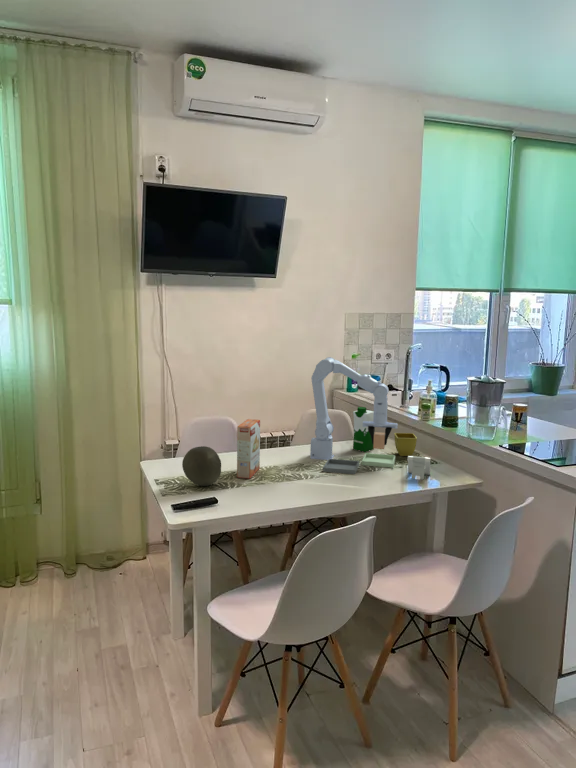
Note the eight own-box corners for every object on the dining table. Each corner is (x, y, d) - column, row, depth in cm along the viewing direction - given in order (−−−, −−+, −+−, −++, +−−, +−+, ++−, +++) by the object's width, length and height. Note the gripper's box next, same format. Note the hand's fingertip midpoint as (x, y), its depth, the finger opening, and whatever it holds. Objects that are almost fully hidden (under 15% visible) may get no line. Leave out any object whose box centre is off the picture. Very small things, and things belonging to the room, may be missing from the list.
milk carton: (350, 449, 267) (351, 407, 264) (361, 445, 273) (362, 404, 270) (365, 453, 261) (366, 409, 258) (377, 449, 268) (378, 407, 264)
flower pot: (416, 457, 254) (417, 438, 253) (396, 457, 254) (397, 437, 253) (412, 452, 263) (413, 433, 262) (393, 452, 263) (394, 432, 262)
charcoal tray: (322, 472, 232) (322, 467, 232) (328, 463, 245) (328, 458, 244) (354, 475, 229) (355, 470, 229) (359, 466, 242) (359, 461, 241)
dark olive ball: (201, 477, 226) (201, 440, 223) (229, 484, 218) (228, 446, 215) (175, 487, 214) (174, 448, 212) (203, 495, 206) (202, 454, 204)
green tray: (361, 466, 241) (361, 461, 241) (365, 457, 254) (365, 452, 253) (393, 468, 238) (393, 463, 238) (395, 460, 251) (395, 455, 250)
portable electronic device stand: (430, 474, 232) (431, 454, 230) (428, 480, 224) (429, 459, 223) (408, 472, 234) (409, 452, 233) (406, 478, 227) (407, 457, 226)
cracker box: (251, 479, 224) (251, 426, 220) (236, 478, 225) (236, 426, 222) (260, 468, 237) (260, 419, 234) (246, 467, 239) (246, 418, 235)
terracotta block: (373, 448, 243) (373, 434, 242) (374, 445, 247) (375, 432, 246) (384, 449, 242) (384, 435, 241) (385, 446, 246) (385, 432, 245)
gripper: (362, 413, 240) (361, 445, 243) (397, 415, 237) (396, 447, 239) (364, 410, 247) (363, 441, 249) (398, 412, 244) (397, 443, 246)
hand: (379, 444), depth 245 cm, fingers closed on terracotta block, 4 cm apart
